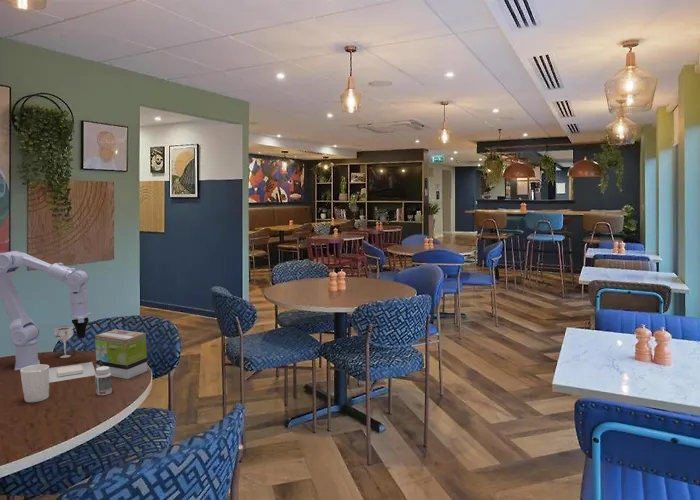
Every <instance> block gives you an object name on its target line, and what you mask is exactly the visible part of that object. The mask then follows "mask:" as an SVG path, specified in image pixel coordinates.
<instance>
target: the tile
mask: <svg viewBox="0 0 700 500" xmlns="http://www.w3.org/2000/svg"><path fill="white" fill-rule="evenodd" d="M57 373H58V377H64V376H70V375H76V374H83V368H82V365H76V366H69V367H63V368H57Z"/></svg>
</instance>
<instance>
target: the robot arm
mask: <svg viewBox="0 0 700 500" xmlns="http://www.w3.org/2000/svg"><path fill="white" fill-rule="evenodd" d="M20 267H28V268H32V269H35V270H37V271H42V272H44V273H47V275H48V277H49V278H52V279H54V280H57V281H60V282H62V283H65V284H66V285H67V286H68V287H69V299H70V300H69V301H70V317H71V323H72V324H73V327H74V329H75V332H76V336H77V339H85V337H86V332H87V331H86V330H87V326H88V324H89V322H90V321H89V318H88V317H89V316H92V315H93V314H92V313H93V312H92V311H91V312H89V304H88V290H87V283H88V282H89V275H88V273H87V272H86V271H84V270H83V269H78V270H76V268H75V267H72V268H71V267H68V266H66V265H65V264H64V263H63V262H55V263H52V264H51V263H49V262H46V261H44V260H42V259H40V258H37V257H36V256H33V255H30V254H28V253H26V252H23V251H22V252H21V251H19V250H11V251H8V252H7V251H6V252H0V299H1V301H2V304H3V306H4V308H5V310H6V313H7V316H8V318H9V320H10V325H9V327H8V330H9V333H10V335H9V337H10V338H9V339H10V341H11V343H13V344H14V354H15V355H14V356H15V363H14V371H20V370H21V369H22V368H24V367H27V366H31V365H39V364H41V363H40V359H39V352H38V339H37V338H39V336H40V332H41V330H40V328H39V326H38V325H37V324H35V322H34V320H33V318H31V317H29V316H28V315H27V313H26V310H25V308H24V306H23V303H22V301H21V299H20V295H19V294H18V292H17V290H16V287H15V285H14V281H13V280H12V277H13V275H14V273H15V272H16V271H17V270H18V269H19V268H20Z"/></svg>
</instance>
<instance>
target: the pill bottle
mask: <svg viewBox="0 0 700 500" xmlns="http://www.w3.org/2000/svg"><path fill="white" fill-rule="evenodd" d="M95 372H96V375H95V376H94V377H95V378H94V379H95V392H96V395H97V396H106V395H110V394H112V393H113V383H112V382H113V381H112V376H111V373H110V369H109V367H107V366H103V367H99V368H97V367H96V368H95Z"/></svg>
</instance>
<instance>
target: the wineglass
mask: <svg viewBox="0 0 700 500" xmlns="http://www.w3.org/2000/svg"><path fill="white" fill-rule="evenodd" d="M73 328H74V325H62V326H61V325H60V326H56V327H54V328H53V330H54V333H53V334H54V337H55V338H56V339H57V340H59V341H62V343H63V350H64V351H63V352H64V355H62V356H60V358H61V359H62V358H63V359H65V358H69V357H71V356H72V355H71V354H67V350H66V349H67V347H66V345H67V344H66V343H67V341H68V340H69V339H71V338H72V337H73V335H74V330H73Z"/></svg>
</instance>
